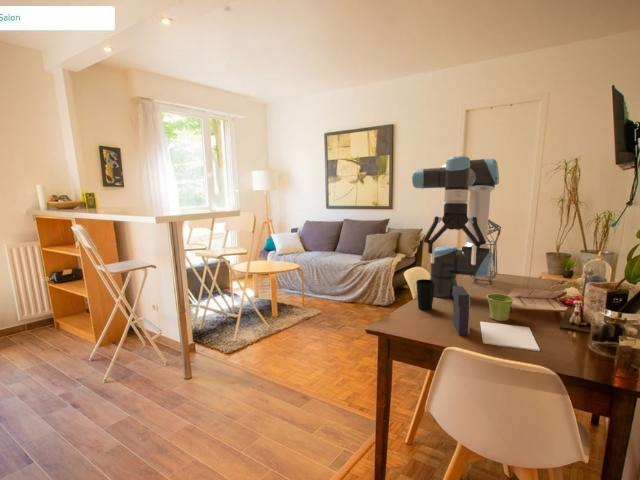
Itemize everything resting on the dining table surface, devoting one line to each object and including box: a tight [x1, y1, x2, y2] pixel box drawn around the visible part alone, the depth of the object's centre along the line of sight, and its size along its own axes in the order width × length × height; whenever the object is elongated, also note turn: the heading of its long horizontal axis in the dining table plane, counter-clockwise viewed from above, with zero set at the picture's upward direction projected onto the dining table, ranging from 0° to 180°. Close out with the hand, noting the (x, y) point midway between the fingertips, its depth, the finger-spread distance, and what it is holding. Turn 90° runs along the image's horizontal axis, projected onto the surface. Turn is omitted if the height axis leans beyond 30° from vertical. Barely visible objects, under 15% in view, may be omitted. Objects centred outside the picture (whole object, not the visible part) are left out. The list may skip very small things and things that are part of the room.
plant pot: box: [486, 293, 515, 322], centre depth 128 cm, size 9×9×9 cm
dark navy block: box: [452, 285, 471, 337], centre depth 119 cm, size 11×4×15 cm, turn 168°
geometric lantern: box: [470, 218, 502, 285], centre depth 176 cm, size 16×16×35 cm
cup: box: [416, 278, 435, 312], centre depth 141 cm, size 8×8×12 cm
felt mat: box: [479, 321, 541, 352], centre depth 114 cm, size 18×16×1 cm
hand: (452, 263), depth 115 cm, fingers open, 13 cm apart
